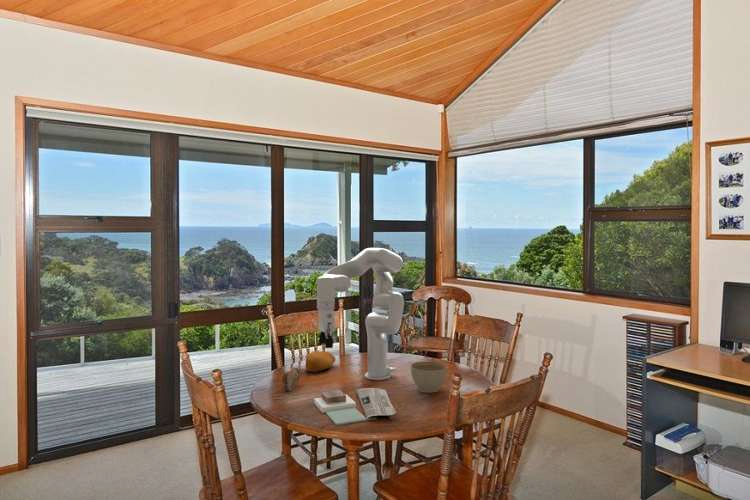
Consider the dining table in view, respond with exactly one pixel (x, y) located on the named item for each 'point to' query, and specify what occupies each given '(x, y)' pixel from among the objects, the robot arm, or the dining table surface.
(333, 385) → the dining table surface
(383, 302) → the robot arm
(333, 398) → the walnut tile
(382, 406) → the newspaper
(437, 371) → the planter bowl
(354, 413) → the mat
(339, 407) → the white flat block
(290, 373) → the tin
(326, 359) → the bread
